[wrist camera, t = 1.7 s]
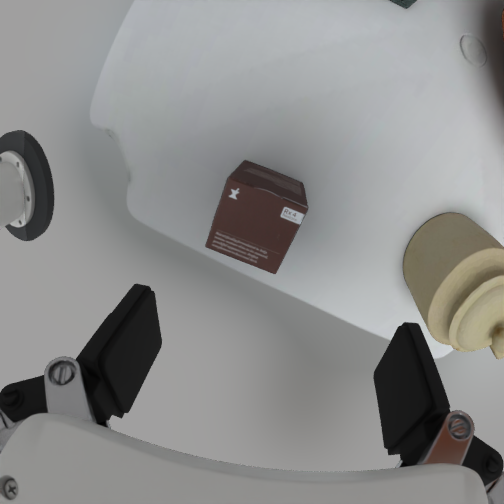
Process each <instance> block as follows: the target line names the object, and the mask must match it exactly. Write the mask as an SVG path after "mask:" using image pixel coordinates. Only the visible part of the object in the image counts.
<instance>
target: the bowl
mask: <svg viewBox="0 0 504 504" xmlns="http://www.w3.org/2000/svg"><path fill="white" fill-rule="evenodd" d="M502 28H503V40H504V9H503V13H502Z"/></svg>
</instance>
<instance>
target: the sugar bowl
mask: <svg viewBox="0 0 504 504" xmlns="http://www.w3.org/2000/svg"><path fill="white" fill-rule="evenodd" d="M403 273H404V278H405V281H406V283H407V286H408V288H409V290H410V292H411V294H412V296H413V299H414V301H415V303H416V305H417V307H418V309H419V312H420V314H421V316H422V318H423V320H424V322H425V324H426V326H427V328H428V330H429V332H430V334H431V335H432V337H433V338H434V339H435V340H436V341H438V342H440V343H442V344H446V345H451V346H452V347H453V348H454V349H456V350H457V351H461V352H469V351H475V350H479V349H483V348H486V347H488V346H490V348H491V350H492V352H493V353H494V355H495V357H496V359H502V358H503V357H504V247H503V246H502V245H501V244H500V243H499V242H498V241H497V240H496V239H495V238H494V237H493V236H491V235H490V234H489V233H488V232H487V231H485V230H484V229H483V228H481V227H480V226H479V225H477V224H476V223H475V222H474V221H472V220H471V219H469V218H468V217H466V216H465V215H462V214H459V213H446V214H441V215H438V216H436V217H434V218H432V219H430V220H429V221H428V222H426V223H425V224H424V225H423V226H422V227H421V228H420V229H419V230H418V231H417V232H416V233H415V235H414V236H413V238H412V239H411V241H410V243H409V245H408V247H407V249H406V252H405V256H404V262H403Z"/></svg>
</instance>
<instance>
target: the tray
mask: <svg viewBox="0 0 504 504" xmlns="http://www.w3.org/2000/svg"><path fill="white" fill-rule="evenodd" d="M390 1H392V2H394V3H396V4H398V5H400V6H402V7H404V8H406V9H407V8H408V7H409V6H411V5H412V4H413V3H414V2H415V1H417V0H390Z"/></svg>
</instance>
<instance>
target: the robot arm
mask: <svg viewBox="0 0 504 504" xmlns="http://www.w3.org/2000/svg"><path fill="white" fill-rule="evenodd" d="M34 208H35V189H34V184H33V179H32V176H31V173H30V170H29V168H28V166H27V164H26V162H25V160H24V159H23V158H22V157H21V155H19V154H18V153H17V152H15V151H6V152H4V153H2V154H0V229H1V228H3V227H5V226H6V225H8V224H11V225H12V226H14V227H22V226H24V225H26V224H27V223H28V222H29V221H30V220H31V218H32V216H33V213H34ZM161 345H162V338H161V332H160V326H159V320H158V313H157V307H156V299H155V293H154V291H151V288H150V287H149V286H145V285H140V284H134V286H133V287H132V288H131V289H130V290H129V292H128V293H127V294H126V296H125V297H124V298H123V299H122V300H121V302H120V303H119V304H118V305H117V307H116V308H115V309H114V311H113V312H112V313H110V314H109V315H108V317H107V318H106V319H105V320H104V322H103V323H102V324H101V326H100V327H99V328H98V330H97V331H96V332H95V334H94V335H93V336H92V338H91V339H90V341H89V342H88V343H87V344H86V346H85V347H84V349H83V350H82V351H81V353H80V354H79V355H78V357H77V358H76V360H75V359H73V358H71V357H66V356H65V357H58V358H56V359H54V360H52V361H51V362H50V363H49V364H48V365H47V367H46V369H45V372H44V375H42V376H39V377H35V378H32V379H28V380H24V381H20V382H17V383H12V384H9V385H7V386H6V387H4V388H3V389H2V391H1V392H0V504H504V472H503V471H502V470H503V459H502V457H501V455H500V454H499V453H498V452H497V451H496V450H495V449H493V448H492V447H490V446H489V445H487V444H486V443H484V442H483V441H482V440H480V439H479V438H477V437H476V436H474V430H475V429H474V423H473V421H472V419H471V417H470V416H469V415H468V414H467V413H465V412H463V411H460V410H455V411H452V412H450V409H449V408H450V405H449V401H448V399H447V395H446V393H445V389H444V387H443V384H442V381H441V378H440V375H439V373H438V370H437V367H436V365H435V362H434V359H433V357H432V354H431V352H430V349H429V347H428V344H427V342H426V340H425V337H424V335H423V333H422V330H421V328H420V326H419V324H418V323H408V322H405V323H403V324H402V326H399V327H398V328H397V330H396V332H395V334H394V336H393V338H392V340H391V342H390V344H389V346H388V348H387V350H386V352H385V353H384V355H383V357H382V359H381V360H380V362H379V364H378V366H377V368H376V369H375V371H374V383H375V388H376V395H377V400H378V407H379V413H380V419H381V426H382V434H383V441H384V447H385V448H386V449H388V455H395V454H400V458H401V460H400V461H399V463H398V464H397V466H396V467H395V468H391V469H380V470H367V471H348V472H312V471H292V470H279V469H269V468H260V467H252V466H245V465H238V464H233V463H227V462H222V461H217V460H212V459H207V458H202V457H198V456H193V455H190V454H186V453H182V452H178V451H175V450H171V449H167V448H164V447H161V446H158V445H154V444H151V443H148V442H145V441H142V440H139V439H136V438H133V437H130V436H127V435H125V434H122V433H119V432H117V431H114V430H111V427H110V424H109V421H108V420H109V419H110V417H111V415H114V416H117V417H119V418H122V417H123V415H124V413H128V412H129V411H130V409H131V407H132V405H133V403H134V401H135V398H136V397H137V394H138V392H139V391H140V388H141V386H142V384H143V382H144V380H145V378H146V376H147V374H148V372H149V370H150V368H151V366H152V364H153V362H154V360H155V358H156V356H157V354H158V352H159V350H160V348H161Z"/></svg>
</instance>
